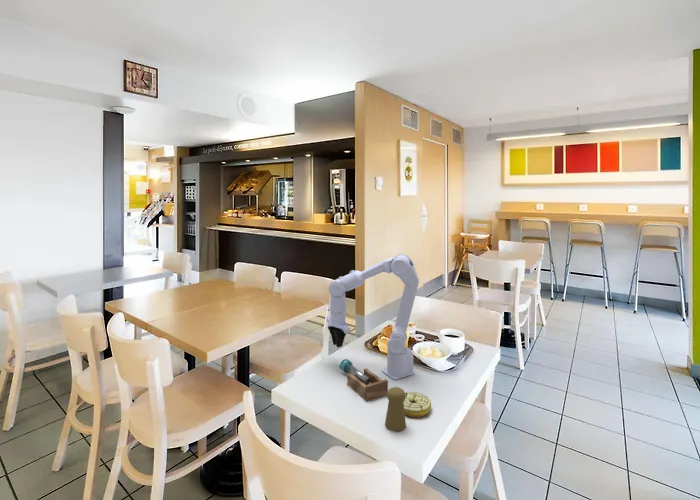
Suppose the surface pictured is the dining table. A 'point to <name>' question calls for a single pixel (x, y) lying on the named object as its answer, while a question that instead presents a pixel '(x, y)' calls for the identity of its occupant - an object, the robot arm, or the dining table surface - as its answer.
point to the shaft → (353, 371)
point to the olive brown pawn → (395, 410)
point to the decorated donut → (416, 404)
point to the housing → (368, 386)
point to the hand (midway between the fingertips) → (337, 345)
